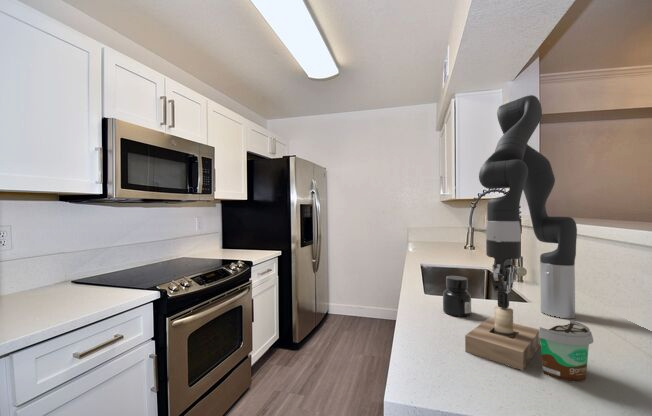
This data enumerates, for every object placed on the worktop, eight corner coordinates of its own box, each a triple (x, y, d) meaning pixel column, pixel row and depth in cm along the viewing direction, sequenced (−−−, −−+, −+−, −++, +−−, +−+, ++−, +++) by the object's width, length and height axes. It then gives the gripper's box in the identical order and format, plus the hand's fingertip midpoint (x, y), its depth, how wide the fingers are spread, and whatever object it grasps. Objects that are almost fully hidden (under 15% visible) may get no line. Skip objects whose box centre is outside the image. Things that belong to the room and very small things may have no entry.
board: (489, 331, 83) (489, 317, 84) (540, 345, 75) (540, 329, 75) (465, 351, 71) (465, 335, 71) (522, 370, 62) (522, 352, 62)
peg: (497, 343, 76) (497, 304, 76) (515, 348, 73) (515, 308, 73) (492, 348, 73) (492, 308, 73) (510, 353, 70) (510, 312, 70)
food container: (573, 391, 55) (572, 338, 56) (538, 374, 61) (538, 327, 61) (606, 377, 60) (606, 328, 60) (572, 363, 66) (571, 319, 66)
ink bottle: (474, 319, 93) (474, 281, 94) (445, 316, 95) (445, 280, 96) (467, 309, 103) (467, 275, 103) (441, 307, 105) (441, 274, 105)
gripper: (495, 236, 81) (495, 298, 80) (477, 239, 72) (478, 309, 71) (527, 238, 75) (527, 305, 75) (512, 241, 66) (513, 317, 66)
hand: (503, 307), depth 73 cm, fingers closed
